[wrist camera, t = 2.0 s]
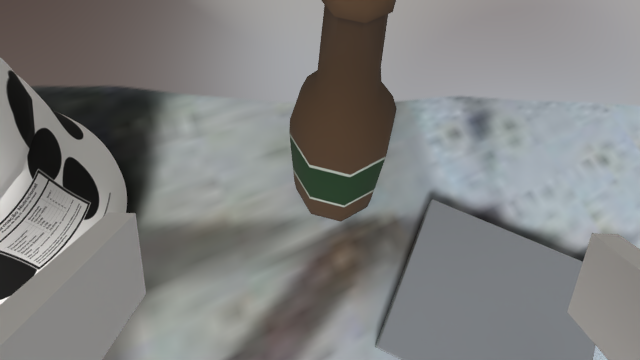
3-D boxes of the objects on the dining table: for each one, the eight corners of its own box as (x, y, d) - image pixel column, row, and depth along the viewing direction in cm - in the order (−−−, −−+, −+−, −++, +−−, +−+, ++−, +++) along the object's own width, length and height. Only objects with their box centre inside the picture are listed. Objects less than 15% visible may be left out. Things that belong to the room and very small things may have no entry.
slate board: (595, 275, 37) (607, 271, 35) (566, 440, 31) (579, 444, 30) (427, 205, 39) (432, 199, 38) (374, 346, 34) (377, 346, 32)
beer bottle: (366, 147, 42) (425, -88, 20) (380, 218, 39) (469, 32, 17) (291, 155, 41) (267, -78, 19) (299, 228, 38) (281, 48, 16)
